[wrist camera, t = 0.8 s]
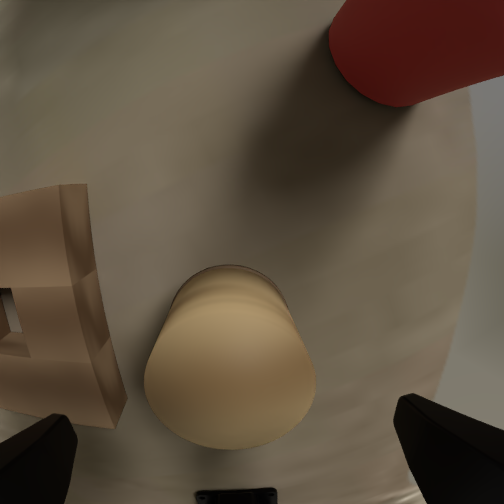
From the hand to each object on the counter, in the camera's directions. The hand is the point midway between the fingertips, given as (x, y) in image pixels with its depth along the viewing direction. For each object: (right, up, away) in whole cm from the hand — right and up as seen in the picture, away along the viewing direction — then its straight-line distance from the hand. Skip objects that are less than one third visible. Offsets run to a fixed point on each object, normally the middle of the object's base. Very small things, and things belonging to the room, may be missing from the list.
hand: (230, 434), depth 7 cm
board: (-14, +1, +9) cm, 16 cm away
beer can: (+8, +15, +7) cm, 19 cm away
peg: (-1, +2, +9) cm, 10 cm away
